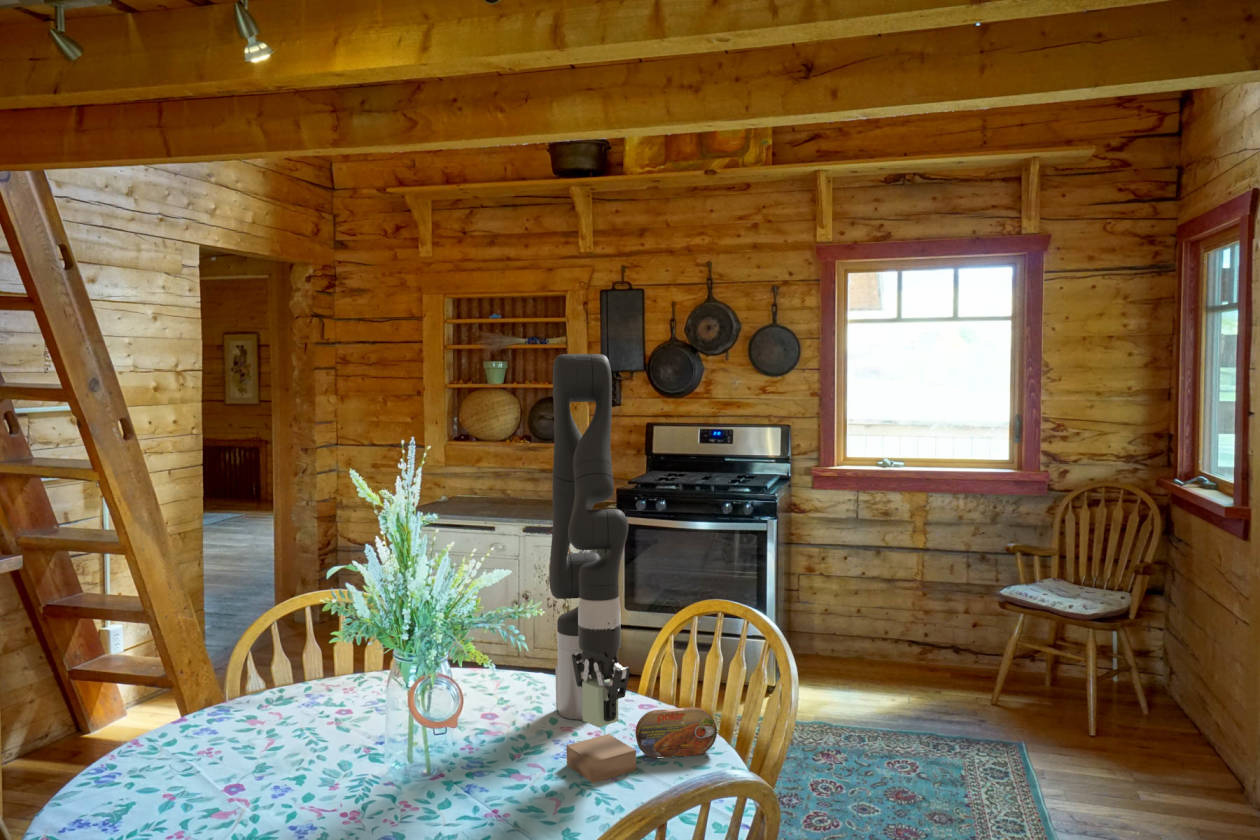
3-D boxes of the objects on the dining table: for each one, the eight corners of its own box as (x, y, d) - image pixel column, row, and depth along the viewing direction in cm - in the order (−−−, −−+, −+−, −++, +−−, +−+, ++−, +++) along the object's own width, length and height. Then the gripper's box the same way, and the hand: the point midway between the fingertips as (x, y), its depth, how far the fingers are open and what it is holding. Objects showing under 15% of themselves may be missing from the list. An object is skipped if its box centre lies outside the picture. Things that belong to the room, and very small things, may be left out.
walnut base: (566, 766, 171) (566, 745, 170) (608, 755, 176) (608, 733, 175) (592, 785, 163) (592, 762, 163) (636, 772, 168) (636, 750, 168)
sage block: (582, 720, 169) (582, 682, 169) (602, 714, 172) (601, 676, 172) (598, 727, 166) (598, 688, 165) (618, 721, 169) (617, 682, 168)
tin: (637, 760, 173) (636, 714, 172) (634, 753, 176) (633, 708, 175) (717, 754, 175) (717, 709, 174) (713, 747, 178) (713, 703, 177)
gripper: (558, 617, 171) (559, 711, 172) (608, 633, 160) (609, 733, 161) (590, 610, 176) (592, 701, 177) (642, 625, 165) (643, 722, 166)
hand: (600, 715), depth 169 cm, fingers closed on sage block, 4 cm apart
